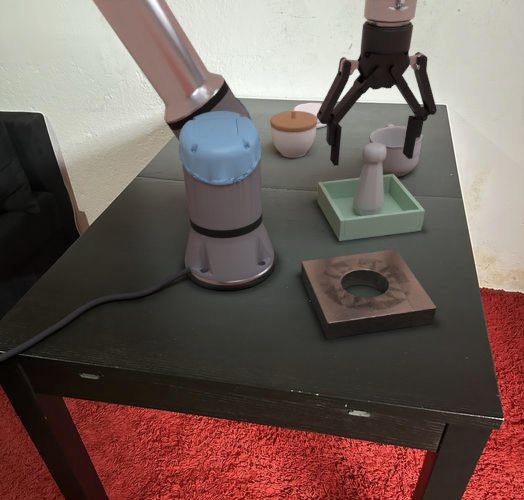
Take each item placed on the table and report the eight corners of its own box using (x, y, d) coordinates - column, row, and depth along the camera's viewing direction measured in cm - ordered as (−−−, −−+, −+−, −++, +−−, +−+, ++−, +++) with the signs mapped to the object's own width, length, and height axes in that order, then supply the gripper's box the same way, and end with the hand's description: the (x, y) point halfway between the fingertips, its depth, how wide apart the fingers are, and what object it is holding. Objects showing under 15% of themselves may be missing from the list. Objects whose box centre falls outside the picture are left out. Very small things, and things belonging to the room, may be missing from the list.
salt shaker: (348, 217, 99) (354, 149, 91) (355, 203, 103) (362, 137, 94) (379, 222, 98) (388, 153, 89) (385, 208, 102) (394, 140, 93)
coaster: (290, 117, 142) (290, 103, 139) (326, 114, 142) (327, 100, 140) (295, 130, 134) (296, 116, 132) (334, 127, 135) (335, 113, 132)
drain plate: (326, 339, 75) (328, 323, 73) (301, 276, 87) (301, 261, 85) (432, 323, 77) (436, 307, 75) (393, 264, 89) (395, 248, 86)
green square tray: (339, 241, 94) (340, 220, 92) (317, 201, 106) (317, 182, 103) (421, 230, 96) (425, 210, 93) (391, 193, 107) (393, 173, 105)
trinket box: (325, 153, 123) (327, 112, 117) (288, 165, 119) (288, 123, 112) (297, 140, 130) (298, 100, 123) (262, 151, 125) (260, 110, 119)
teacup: (416, 183, 110) (423, 145, 105) (364, 180, 112) (368, 143, 107) (416, 156, 120) (422, 120, 115) (368, 154, 122) (371, 118, 117)
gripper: (314, 31, 75) (308, 174, 89) (477, 21, 78) (446, 161, 92) (302, 20, 80) (298, 157, 95) (455, 11, 83) (428, 145, 98)
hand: (371, 159), depth 93 cm, fingers open, 13 cm apart
